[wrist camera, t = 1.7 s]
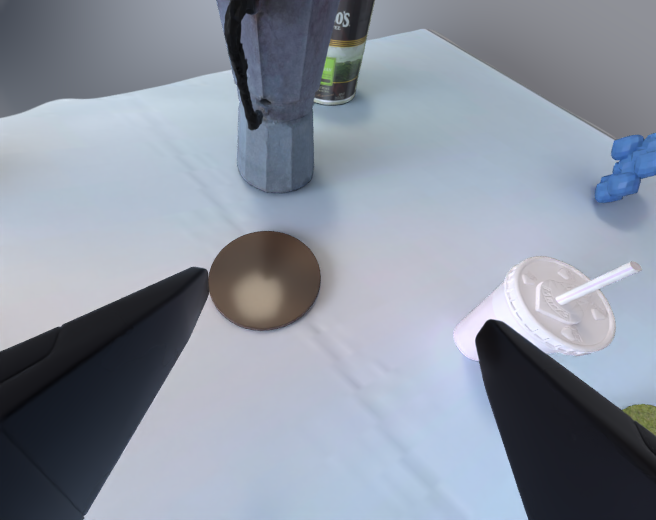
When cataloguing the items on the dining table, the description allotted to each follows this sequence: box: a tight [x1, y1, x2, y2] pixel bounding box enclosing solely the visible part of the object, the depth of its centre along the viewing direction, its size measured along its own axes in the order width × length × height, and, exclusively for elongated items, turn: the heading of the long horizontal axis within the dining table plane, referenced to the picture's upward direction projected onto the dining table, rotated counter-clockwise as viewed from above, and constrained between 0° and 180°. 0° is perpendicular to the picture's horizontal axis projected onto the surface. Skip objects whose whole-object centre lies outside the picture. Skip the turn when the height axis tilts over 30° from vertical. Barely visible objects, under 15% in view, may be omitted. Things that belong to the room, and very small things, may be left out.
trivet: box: [209, 231, 321, 331], centre depth 25 cm, size 10×10×1 cm
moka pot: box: [216, 0, 340, 193], centre depth 24 cm, size 10×15×20 cm, turn 173°
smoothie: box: [454, 256, 642, 361], centre depth 19 cm, size 6×6×14 cm
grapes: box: [595, 133, 656, 203], centre depth 34 cm, size 12×7×12 cm, turn 132°
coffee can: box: [314, 0, 375, 105], centre depth 38 cm, size 10×10×14 cm
